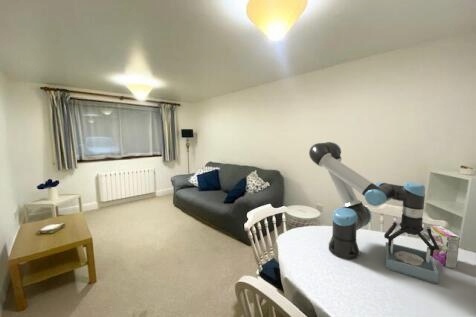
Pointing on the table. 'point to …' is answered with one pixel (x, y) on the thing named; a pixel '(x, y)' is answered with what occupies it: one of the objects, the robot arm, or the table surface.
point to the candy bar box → (445, 246)
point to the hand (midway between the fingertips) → (408, 256)
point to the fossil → (409, 258)
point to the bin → (421, 272)
